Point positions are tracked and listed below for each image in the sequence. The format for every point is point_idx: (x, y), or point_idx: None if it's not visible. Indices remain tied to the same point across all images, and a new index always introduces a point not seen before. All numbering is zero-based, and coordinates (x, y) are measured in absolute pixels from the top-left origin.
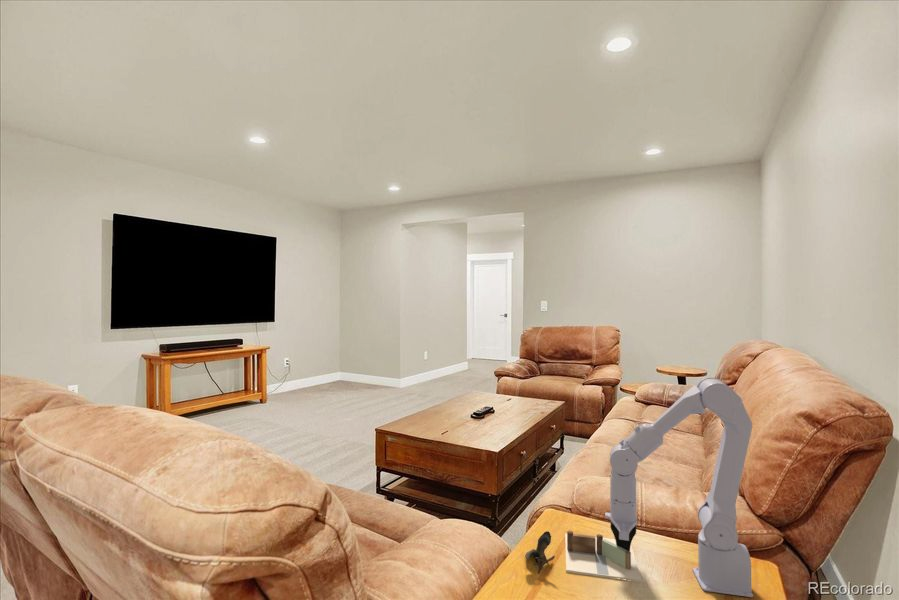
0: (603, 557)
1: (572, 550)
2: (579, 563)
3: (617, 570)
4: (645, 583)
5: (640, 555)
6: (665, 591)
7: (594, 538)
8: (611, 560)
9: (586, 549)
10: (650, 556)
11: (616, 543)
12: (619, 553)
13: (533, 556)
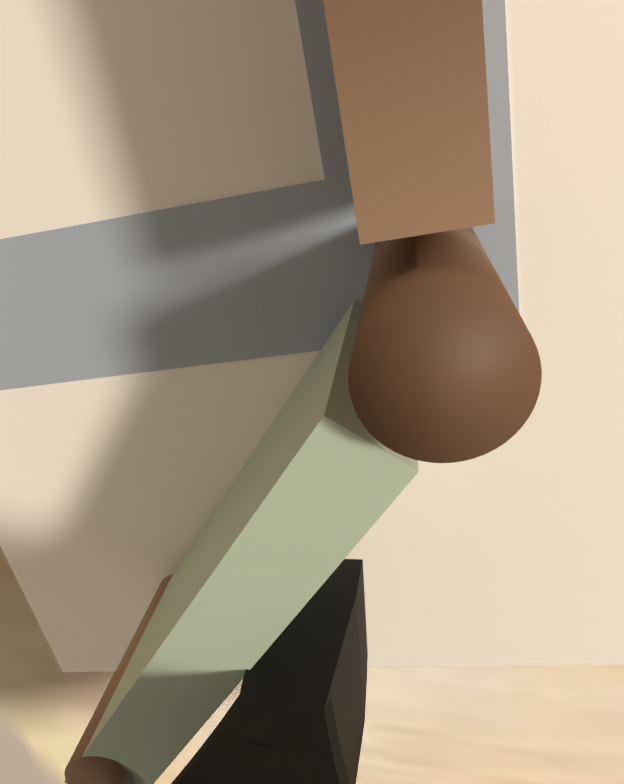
0: (322, 318)
1: None
2: None
3: (93, 487)
4: (83, 674)
5: (606, 699)
6: (64, 771)
7: (360, 211)
8: None
9: None
10: (610, 771)
11: (239, 699)
12: (152, 635)
13: None
